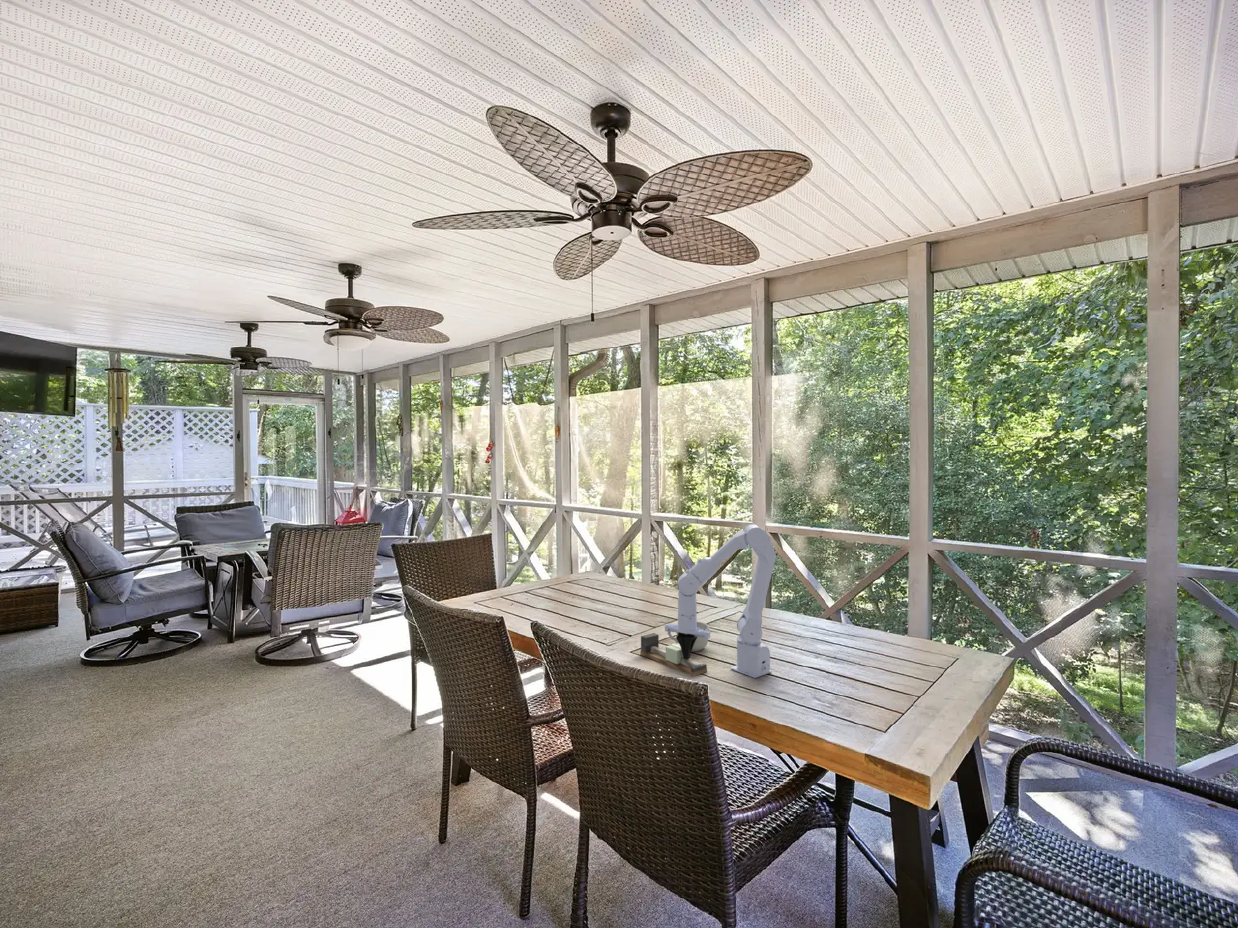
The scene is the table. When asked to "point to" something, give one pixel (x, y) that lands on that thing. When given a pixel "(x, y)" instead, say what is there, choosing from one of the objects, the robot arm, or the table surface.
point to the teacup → (700, 641)
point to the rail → (676, 666)
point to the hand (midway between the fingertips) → (686, 658)
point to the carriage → (674, 653)
